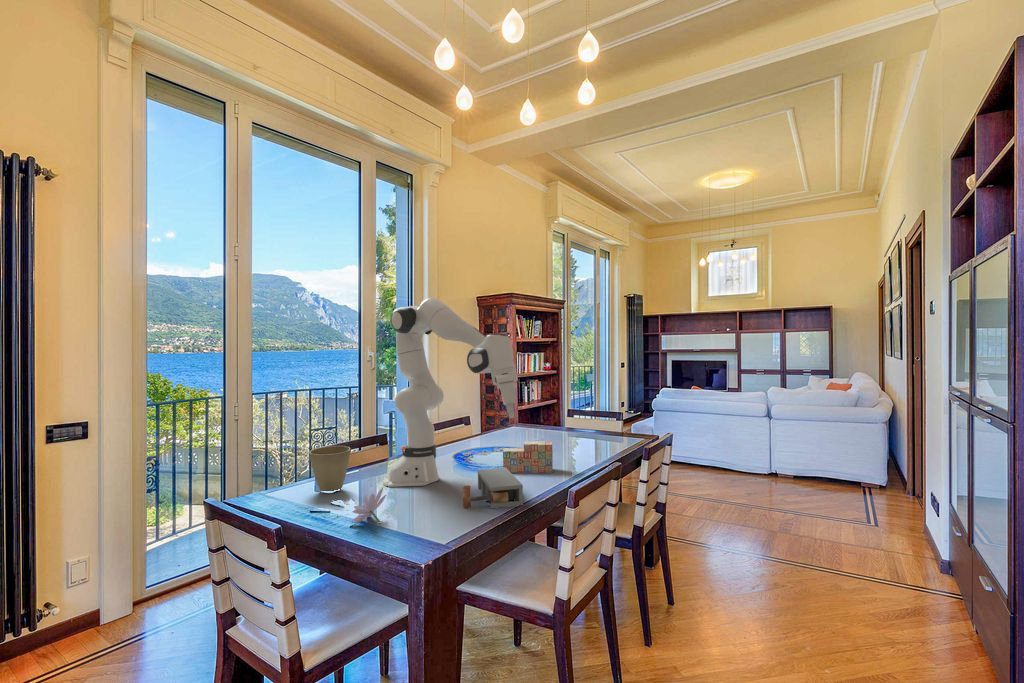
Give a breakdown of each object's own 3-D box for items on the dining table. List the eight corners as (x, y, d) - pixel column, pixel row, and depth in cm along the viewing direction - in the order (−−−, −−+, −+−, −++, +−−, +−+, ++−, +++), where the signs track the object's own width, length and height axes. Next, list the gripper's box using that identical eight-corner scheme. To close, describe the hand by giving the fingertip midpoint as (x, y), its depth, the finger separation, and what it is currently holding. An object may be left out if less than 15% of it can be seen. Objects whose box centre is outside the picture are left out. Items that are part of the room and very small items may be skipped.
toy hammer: (464, 509, 171) (463, 488, 171) (462, 505, 176) (461, 484, 176) (508, 505, 175) (507, 485, 175) (504, 500, 180) (504, 481, 180)
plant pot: (306, 490, 198) (305, 449, 198) (344, 483, 206) (343, 444, 206) (315, 499, 185) (315, 456, 185) (356, 492, 194) (355, 450, 194)
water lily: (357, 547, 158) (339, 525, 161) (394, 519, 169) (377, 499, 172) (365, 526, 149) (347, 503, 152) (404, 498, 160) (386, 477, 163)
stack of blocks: (502, 472, 218) (502, 444, 218) (504, 469, 224) (503, 441, 224) (552, 473, 216) (552, 444, 216) (553, 469, 222) (552, 441, 222)
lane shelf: (491, 508, 171) (490, 487, 171) (478, 488, 195) (477, 469, 195) (522, 505, 174) (522, 484, 174) (506, 485, 198) (506, 467, 198)
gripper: (495, 381, 187) (501, 418, 186) (496, 378, 167) (503, 420, 165) (512, 378, 188) (518, 415, 186) (514, 374, 167) (522, 416, 166)
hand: (511, 417), depth 176 cm, fingers open, 8 cm apart
